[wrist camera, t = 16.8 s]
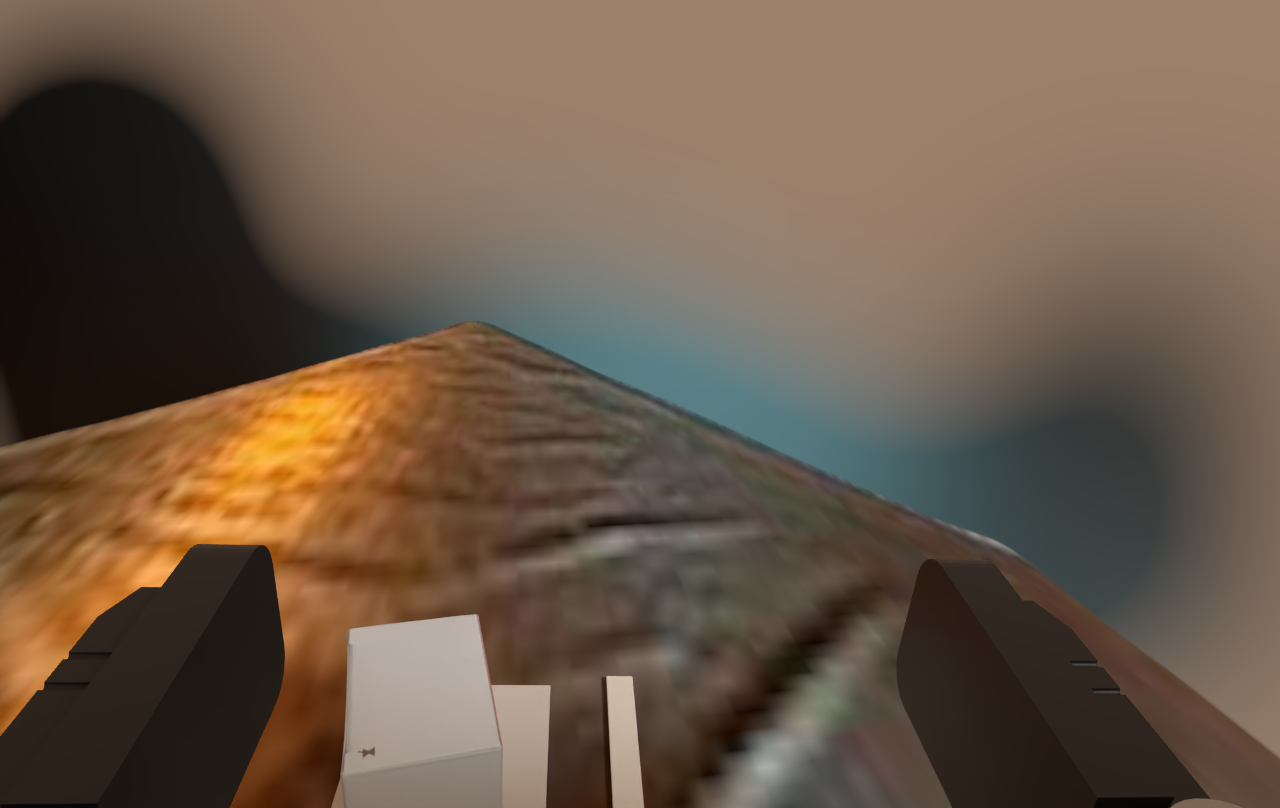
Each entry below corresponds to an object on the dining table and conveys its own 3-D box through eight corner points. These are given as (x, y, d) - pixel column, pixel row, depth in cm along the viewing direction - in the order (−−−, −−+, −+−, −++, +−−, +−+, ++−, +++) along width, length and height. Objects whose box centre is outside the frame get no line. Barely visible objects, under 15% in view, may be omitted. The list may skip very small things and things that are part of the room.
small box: (503, 942, 33) (506, 750, 29) (358, 975, 32) (338, 778, 28) (481, 782, 40) (481, 608, 36) (361, 803, 39) (346, 624, 35)
